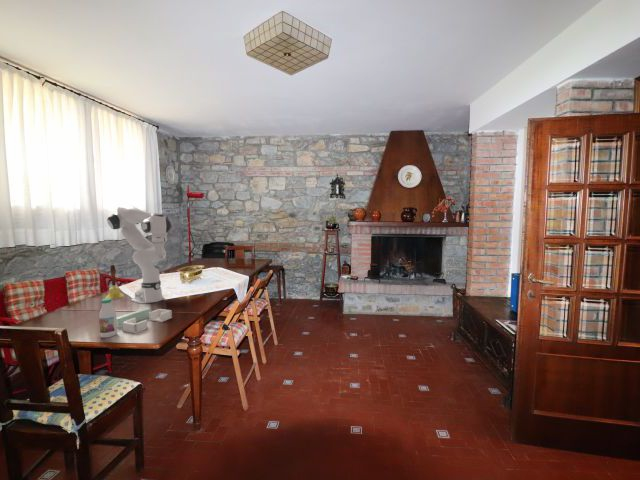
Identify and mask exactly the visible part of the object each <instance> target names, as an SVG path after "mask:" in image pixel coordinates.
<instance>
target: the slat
mask: <svg viewBox="0 0 640 480" xmlns="http://www.w3.org/2000/svg"><path fill="white" fill-rule="evenodd" d="M149 312H151V308H149V307H144V308H141V309H139V310H134V311H133V312H129V313H126V314H123V315H120V316H116V320H117V329H119V328H122V322H124V321H127V320H130V319H133V318H136V323H138V322H141V321H143V320H146V319H149Z"/></svg>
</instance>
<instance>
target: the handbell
mask: <svg viewBox="0 0 640 480" xmlns="http://www.w3.org/2000/svg"><path fill="white" fill-rule="evenodd" d="M116 271H117V269H116V266H115V264H111V265H110V269H109V273H110V276H111V282H112V283H111V287H110V288H108V294H107V295H106V296H105V298H104V299H106V298H111V299H112V300H115V299H120V298H124V296H125V295H124V294H123V293H121V292H120V287H119V286H117V285H116V273H117V272H116Z"/></svg>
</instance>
